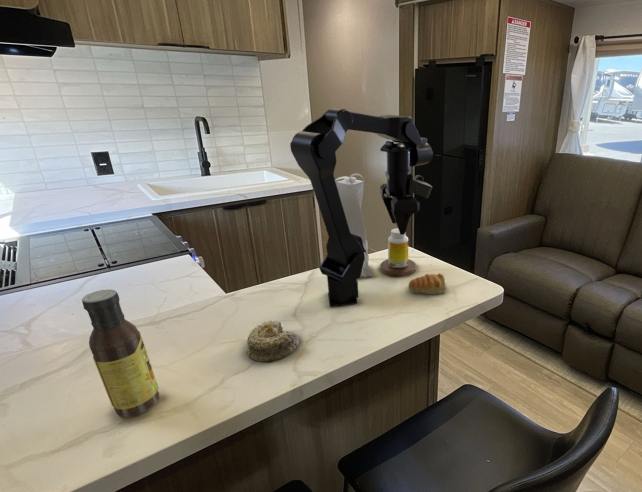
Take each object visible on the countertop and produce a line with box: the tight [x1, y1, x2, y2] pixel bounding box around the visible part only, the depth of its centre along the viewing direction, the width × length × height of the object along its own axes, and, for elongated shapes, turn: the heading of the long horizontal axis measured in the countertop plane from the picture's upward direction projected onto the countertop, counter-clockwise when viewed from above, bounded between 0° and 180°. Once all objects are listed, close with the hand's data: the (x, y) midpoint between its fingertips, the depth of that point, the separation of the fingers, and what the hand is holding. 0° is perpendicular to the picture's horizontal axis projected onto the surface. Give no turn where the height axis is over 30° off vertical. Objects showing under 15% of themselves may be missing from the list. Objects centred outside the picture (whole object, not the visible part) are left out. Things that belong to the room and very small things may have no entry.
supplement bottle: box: [387, 227, 409, 268], centre depth 111 cm, size 6×6×10 cm
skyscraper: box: [335, 172, 374, 280], centre depth 104 cm, size 8×8×28 cm
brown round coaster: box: [380, 258, 417, 277], centre depth 113 cm, size 10×10×1 cm
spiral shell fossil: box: [246, 320, 300, 362], centre depth 78 cm, size 10×10×5 cm
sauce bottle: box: [81, 288, 160, 418], centre depth 60 cm, size 6×6×20 cm
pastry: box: [408, 272, 447, 295], centre depth 102 cm, size 9×7×4 cm
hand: (398, 228), depth 106 cm, fingers open, 9 cm apart
